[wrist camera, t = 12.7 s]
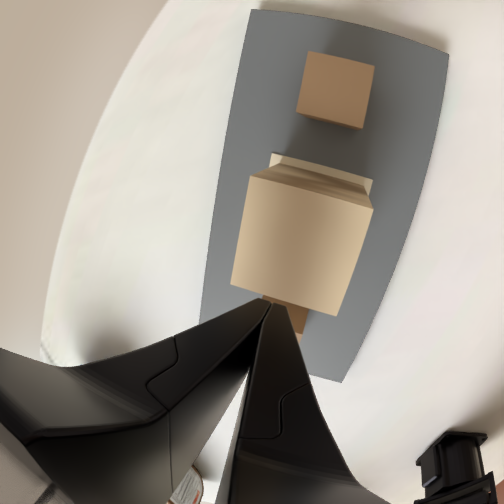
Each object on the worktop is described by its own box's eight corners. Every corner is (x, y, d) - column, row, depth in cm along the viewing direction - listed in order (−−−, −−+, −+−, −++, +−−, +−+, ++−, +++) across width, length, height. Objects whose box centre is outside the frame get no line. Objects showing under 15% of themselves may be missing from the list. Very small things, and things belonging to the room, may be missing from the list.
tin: (150, 425, 35) (119, 470, 27) (169, 428, 34) (138, 476, 26) (196, 481, 39) (175, 520, 31) (213, 484, 38) (193, 525, 30)
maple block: (363, 185, 17) (373, 209, 11) (340, 263, 19) (336, 316, 13) (279, 162, 17) (250, 175, 12) (262, 241, 20) (230, 284, 14)
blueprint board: (443, 58, 13) (473, 36, 9) (342, 372, 23) (337, 421, 18) (256, 15, 15) (228, -17, 11) (203, 329, 25) (174, 368, 21)
